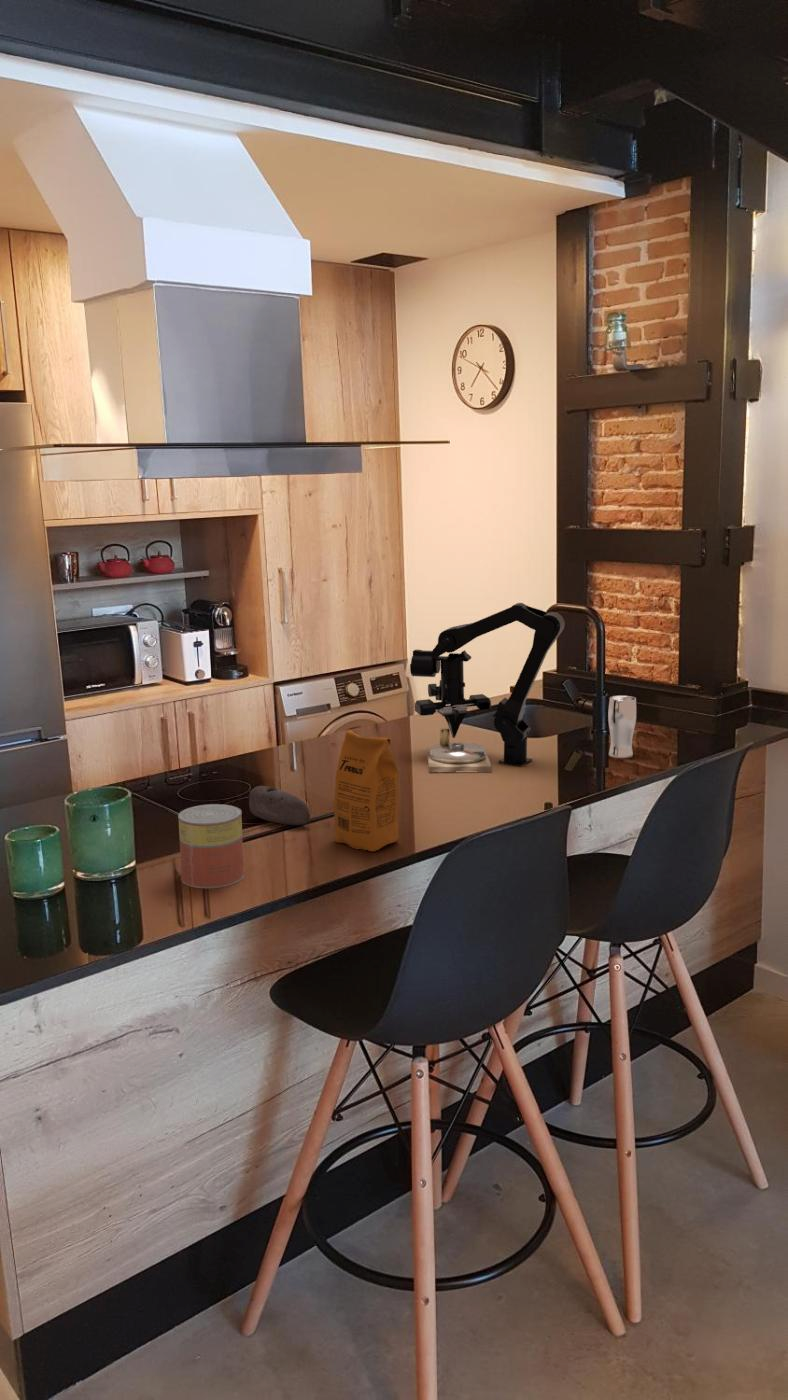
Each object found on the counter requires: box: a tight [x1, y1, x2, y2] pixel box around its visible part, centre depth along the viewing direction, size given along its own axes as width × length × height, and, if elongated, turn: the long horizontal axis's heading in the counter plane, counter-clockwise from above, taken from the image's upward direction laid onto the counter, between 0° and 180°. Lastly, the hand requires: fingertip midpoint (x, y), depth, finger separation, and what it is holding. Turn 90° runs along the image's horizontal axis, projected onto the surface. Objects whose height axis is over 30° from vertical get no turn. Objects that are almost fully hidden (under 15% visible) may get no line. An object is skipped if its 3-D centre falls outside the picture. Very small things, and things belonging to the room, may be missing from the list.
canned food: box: [177, 803, 245, 889], centre depth 194 cm, size 11×11×12 cm
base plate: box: [425, 748, 492, 773], centre depth 270 cm, size 15×18×2 cm
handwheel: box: [429, 727, 487, 763], centre depth 269 cm, size 14×14×6 cm
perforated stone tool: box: [248, 785, 311, 826], centre depth 225 cm, size 15×5×7 cm, turn 54°
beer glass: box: [607, 695, 637, 759], centre depth 275 cm, size 7×7×15 cm
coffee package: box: [333, 729, 400, 852], centre depth 211 cm, size 10×12×22 cm
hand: (453, 737), depth 275 cm, fingers closed
